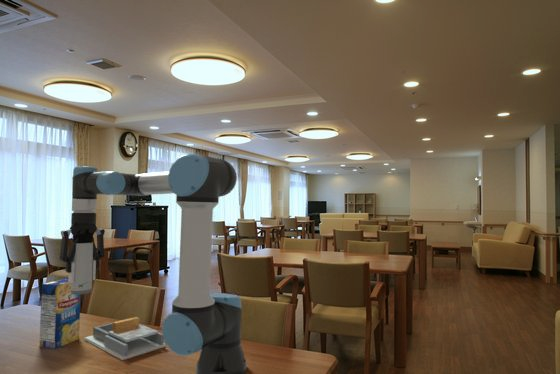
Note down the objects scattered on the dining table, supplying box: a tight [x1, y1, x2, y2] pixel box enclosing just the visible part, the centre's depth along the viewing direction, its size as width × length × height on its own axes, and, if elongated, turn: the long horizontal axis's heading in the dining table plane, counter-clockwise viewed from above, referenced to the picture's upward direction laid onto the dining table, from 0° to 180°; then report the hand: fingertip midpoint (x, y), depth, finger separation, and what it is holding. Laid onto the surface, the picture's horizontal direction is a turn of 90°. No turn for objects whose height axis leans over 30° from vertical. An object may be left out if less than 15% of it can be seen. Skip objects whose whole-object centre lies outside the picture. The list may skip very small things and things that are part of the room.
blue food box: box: [39, 278, 82, 350], centre depth 140 cm, size 7×11×22 cm, turn 163°
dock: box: [84, 322, 166, 361], centre depth 139 cm, size 28×16×4 cm, turn 50°
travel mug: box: [71, 233, 95, 295], centre depth 129 cm, size 6×7×20 cm
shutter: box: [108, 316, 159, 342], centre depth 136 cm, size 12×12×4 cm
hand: (81, 280), depth 129 cm, fingers closed on travel mug, 6 cm apart
